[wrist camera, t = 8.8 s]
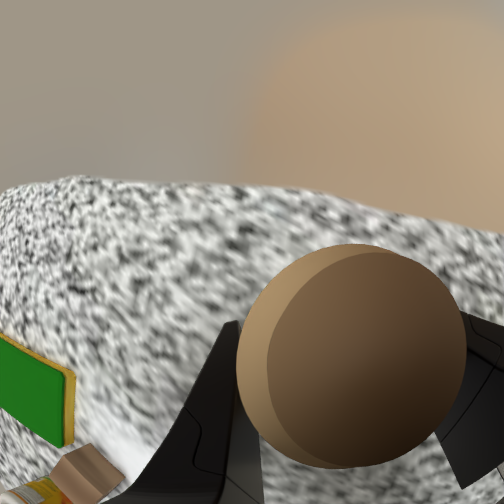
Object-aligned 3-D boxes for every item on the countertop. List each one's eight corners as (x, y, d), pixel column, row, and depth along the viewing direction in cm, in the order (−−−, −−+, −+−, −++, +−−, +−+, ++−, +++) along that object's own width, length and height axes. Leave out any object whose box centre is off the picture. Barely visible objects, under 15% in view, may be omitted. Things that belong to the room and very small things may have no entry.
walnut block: (106, 495, 14) (84, 513, 10) (74, 464, 15) (48, 476, 11) (126, 476, 15) (103, 495, 11) (90, 442, 16) (63, 455, 12)
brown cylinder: (262, 393, 13) (254, 516, 3) (250, 318, 15) (210, 244, 4) (339, 378, 14) (489, 430, 3) (326, 304, 15) (451, 208, 4)
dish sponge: (76, 444, 16) (61, 450, 14) (-8, 386, 17) (-23, 386, 15) (79, 372, 18) (61, 374, 16) (-5, 327, 19) (-21, 324, 17)
